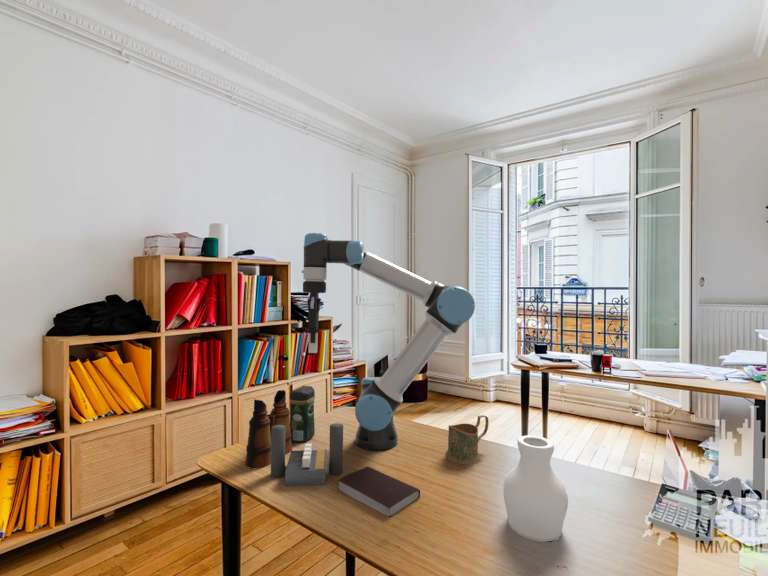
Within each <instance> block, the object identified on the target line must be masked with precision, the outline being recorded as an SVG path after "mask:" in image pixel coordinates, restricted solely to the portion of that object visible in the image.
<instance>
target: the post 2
mask: <svg viewBox="0 0 768 576" xmlns="http://www.w3.org/2000/svg"><path fill="white" fill-rule="evenodd" d="M328 448H329V450H328V451H329V455H328V457H329V458H328V460H329V462H328V463H329V465H328V474H329V475H331V476H340V475H342V474H343V464H344V463H343V460H344V459H343V458H344V424H342V423H340V422H338V423H331V424H329V447H328Z"/></svg>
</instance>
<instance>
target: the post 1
mask: <svg viewBox="0 0 768 576" xmlns="http://www.w3.org/2000/svg"><path fill="white" fill-rule="evenodd" d="M285 428H286V427H285V426H284V425H275V426H272V428H271V464H270V477H271V478H273V479H279V478H283V477H285V471H286V455H285Z"/></svg>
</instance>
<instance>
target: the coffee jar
mask: <svg viewBox="0 0 768 576" xmlns="http://www.w3.org/2000/svg"><path fill="white" fill-rule="evenodd" d="M315 398H316V393H315V389H314V387H313V386H311V385H302V386H299V387H298V388H295V389H293V390H292V391H290V392H289V404H290V414H289V420H290V432H291V442H295V443H303V442H304V443H305V442H308V441H309V440H311V439H312V438H313V437H314V435H315V432H316V430H315V429H316V428H315Z"/></svg>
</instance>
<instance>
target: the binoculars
mask: <svg viewBox="0 0 768 576" xmlns="http://www.w3.org/2000/svg"><path fill="white" fill-rule="evenodd" d="M253 400H254V401H253V411H252V417H251V418H250V420H249V421H248V422H249V423H248V425H249V429H248V438H247V445H246V456H245V462H244V463H245V465H246V466H248V467H250V468H249V469H252V468H258V469H263V468H265V467H266V466H267V467H268V465H269V466H271V428H272V426H275V425H284V426H285V427H286V428H285V456H286V455H288V454H290V453H291V451H293V445H292V440H291V432H290V413H291V410H290V409H289V408H288V407H287V404H288V403H287V402H286V390H281V389H279V390H277V392H276V393H275V395H274V398H273V403H272V407H273V408H271V411H270V413H269V414H268V410H267V409H268V408H267V404H266V403H265V402H264V401H263V400H261V399H255V398H254V399H253ZM245 465H244V466H245ZM246 466H245V467H246ZM248 467H247V468H248Z"/></svg>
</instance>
